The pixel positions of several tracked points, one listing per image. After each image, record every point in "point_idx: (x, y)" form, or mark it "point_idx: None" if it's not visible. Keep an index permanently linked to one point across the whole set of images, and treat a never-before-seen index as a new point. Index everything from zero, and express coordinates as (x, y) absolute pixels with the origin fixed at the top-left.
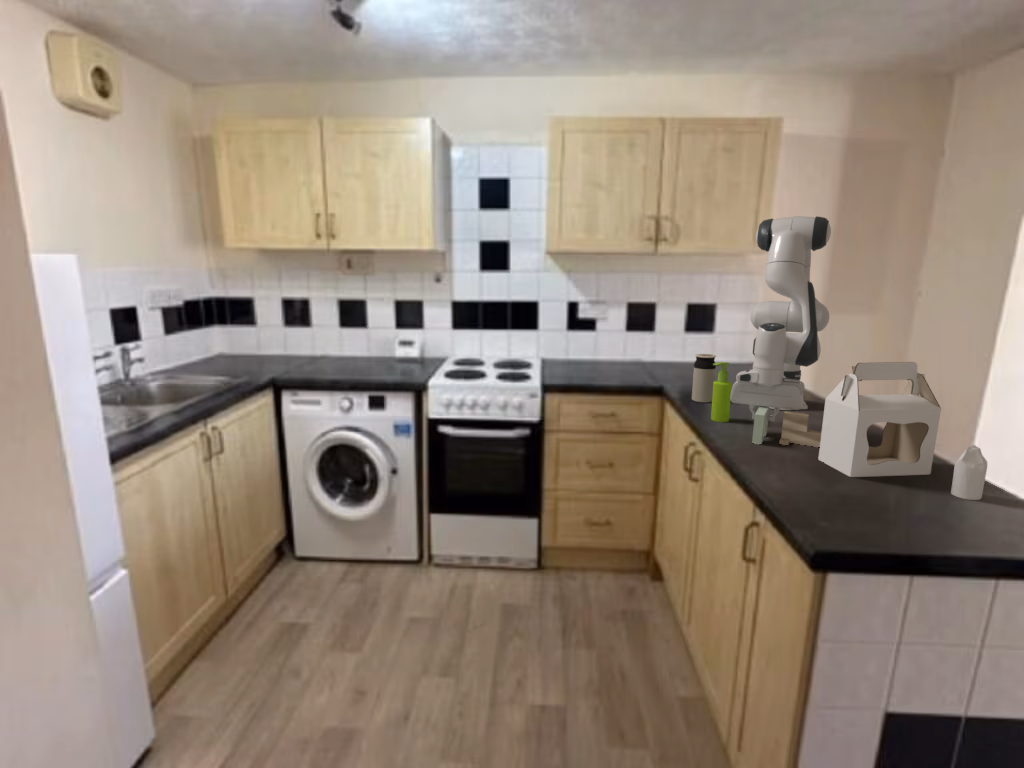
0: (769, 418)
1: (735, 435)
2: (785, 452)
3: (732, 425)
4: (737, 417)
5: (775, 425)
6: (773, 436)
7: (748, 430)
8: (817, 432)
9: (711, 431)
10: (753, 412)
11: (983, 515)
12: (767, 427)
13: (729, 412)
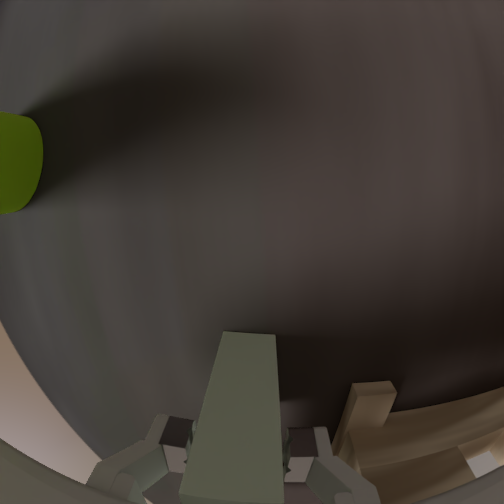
0: (286, 445)
1: (137, 421)
2: None
3: (70, 249)
4: (84, 46)
5: (322, 104)
6: (311, 382)
7: (164, 324)
8: (476, 448)
9: (51, 388)
10: (157, 477)
11: None
12: (276, 356)
13: (8, 149)
